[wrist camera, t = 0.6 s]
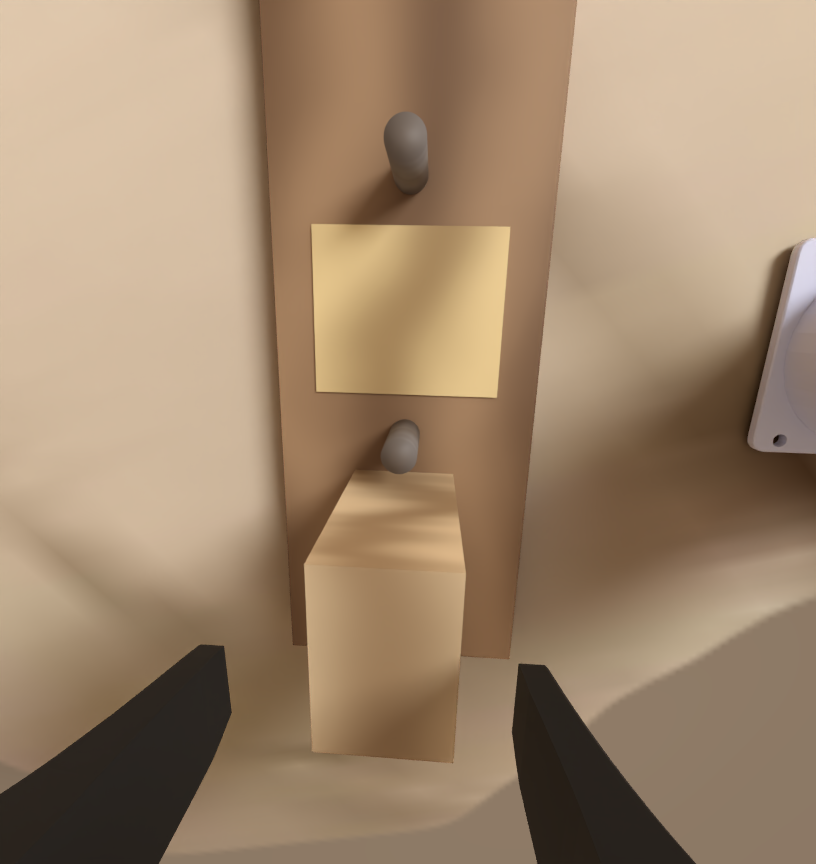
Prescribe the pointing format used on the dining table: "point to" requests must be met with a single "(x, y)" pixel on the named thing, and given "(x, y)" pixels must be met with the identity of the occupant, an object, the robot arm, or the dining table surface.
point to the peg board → (414, 260)
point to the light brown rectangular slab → (387, 619)
